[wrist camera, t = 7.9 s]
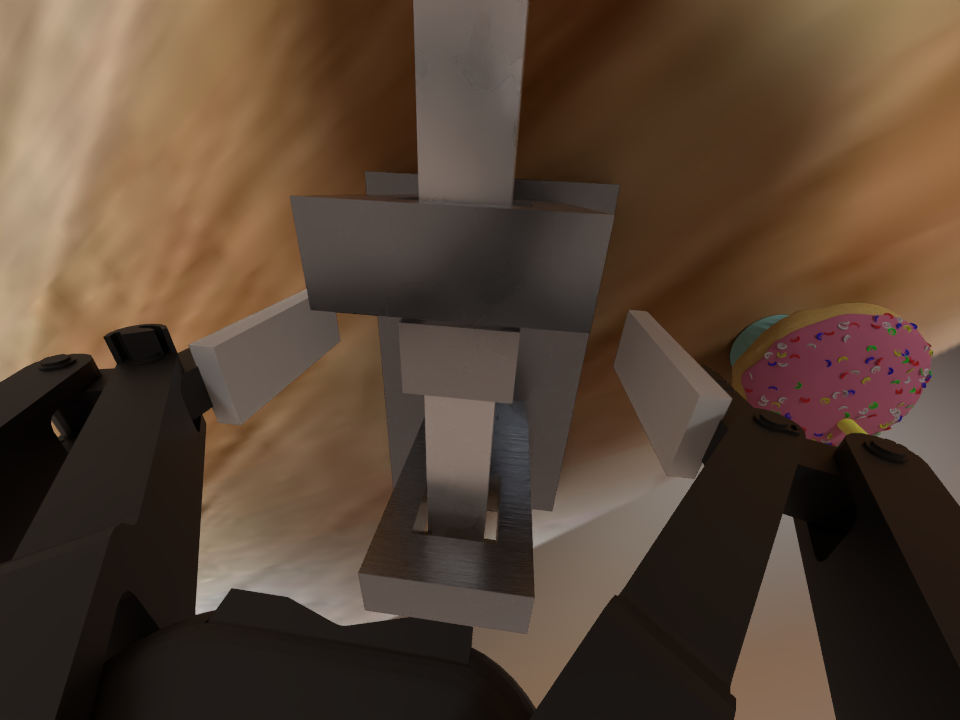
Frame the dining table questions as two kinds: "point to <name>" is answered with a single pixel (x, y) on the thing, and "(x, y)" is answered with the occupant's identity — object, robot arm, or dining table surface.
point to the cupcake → (833, 369)
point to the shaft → (466, 179)
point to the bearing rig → (476, 300)
